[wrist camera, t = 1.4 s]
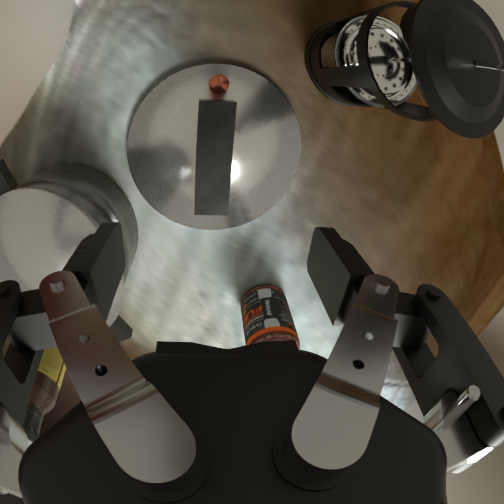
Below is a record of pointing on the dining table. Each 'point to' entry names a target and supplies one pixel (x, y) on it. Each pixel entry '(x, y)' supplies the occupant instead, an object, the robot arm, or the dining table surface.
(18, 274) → the cooker pot
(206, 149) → the cooker lid
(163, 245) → the dining table surface
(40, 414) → the sauce bottle
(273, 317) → the supplement bottle
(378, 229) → the dining table surface
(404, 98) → the french press
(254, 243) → the dining table surface
